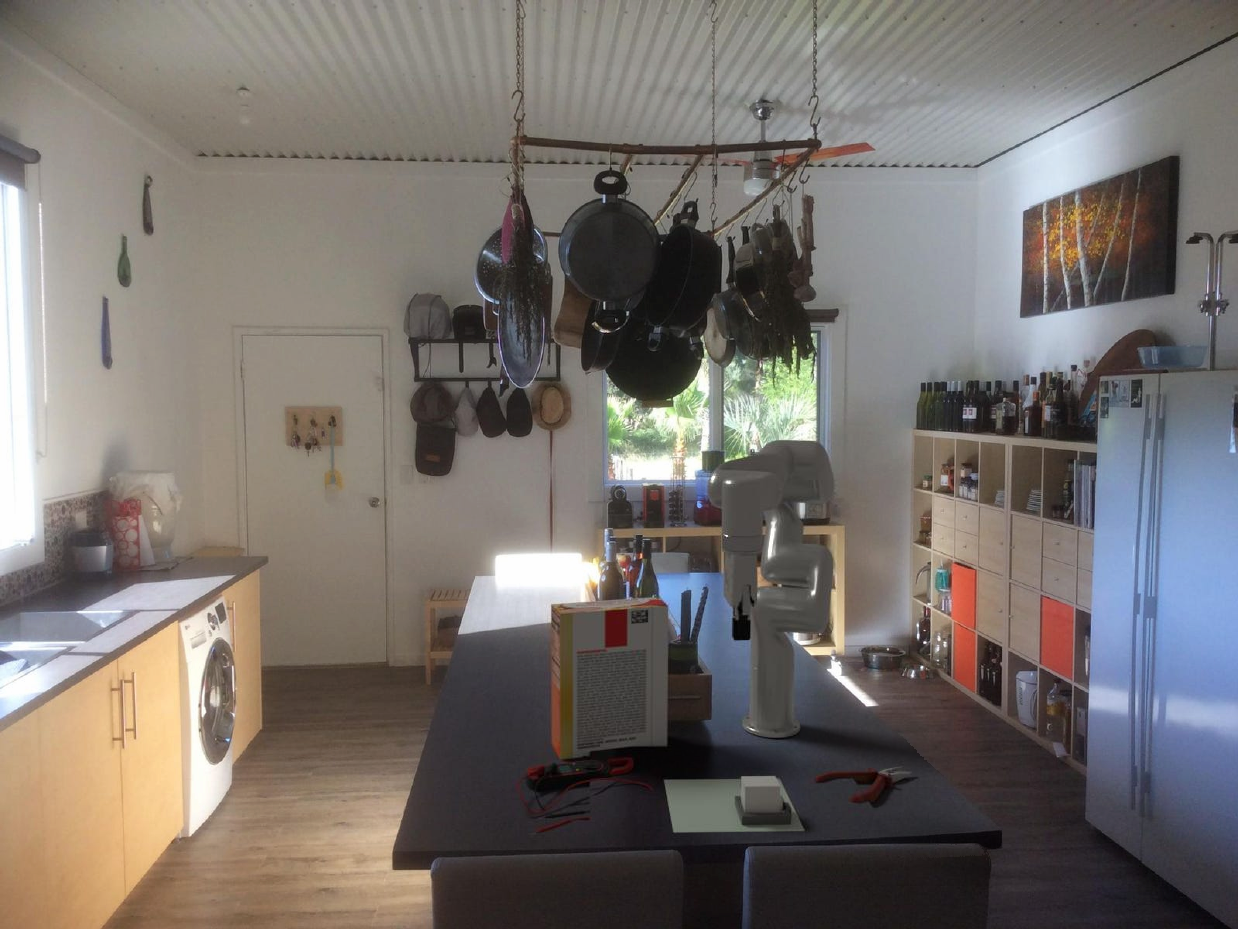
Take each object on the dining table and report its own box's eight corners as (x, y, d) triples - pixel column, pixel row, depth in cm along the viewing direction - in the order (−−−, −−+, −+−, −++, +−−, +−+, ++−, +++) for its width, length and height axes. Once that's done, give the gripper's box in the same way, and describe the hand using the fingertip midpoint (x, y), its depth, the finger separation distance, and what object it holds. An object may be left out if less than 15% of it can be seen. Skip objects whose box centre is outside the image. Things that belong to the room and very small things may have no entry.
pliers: (932, 787, 169) (932, 773, 168) (855, 812, 159) (855, 798, 158) (886, 765, 179) (886, 753, 178) (810, 788, 168) (810, 774, 168)
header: (734, 804, 158) (734, 796, 158) (784, 803, 158) (785, 795, 158) (741, 825, 151) (741, 816, 150) (794, 824, 151) (794, 816, 151)
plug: (740, 809, 156) (741, 776, 156) (779, 809, 156) (779, 776, 156) (744, 820, 152) (745, 786, 152) (784, 820, 152) (784, 786, 152)
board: (663, 785, 168) (663, 776, 168) (779, 783, 169) (779, 775, 169) (673, 838, 148) (673, 828, 148) (804, 836, 149) (804, 827, 149)
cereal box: (654, 732, 194) (655, 597, 191) (667, 746, 186) (668, 605, 184) (551, 744, 187) (551, 604, 185) (560, 759, 179) (560, 613, 177)
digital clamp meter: (506, 757, 171) (630, 743, 178) (506, 780, 171) (630, 765, 178) (528, 812, 149) (669, 794, 156) (528, 838, 149) (669, 819, 156)
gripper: (715, 535, 172) (715, 627, 174) (728, 552, 157) (728, 652, 159) (754, 535, 173) (753, 627, 175) (770, 551, 158) (769, 651, 160)
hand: (741, 638), depth 167 cm, fingers closed
